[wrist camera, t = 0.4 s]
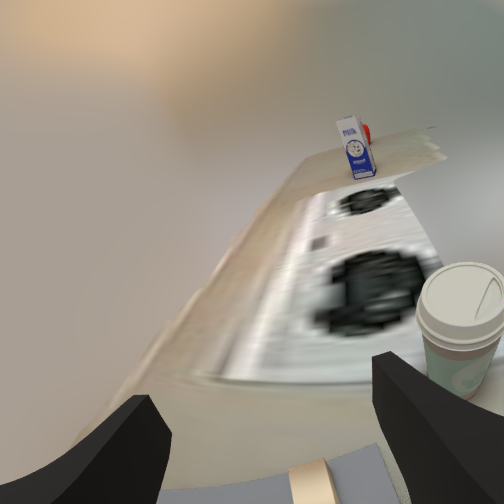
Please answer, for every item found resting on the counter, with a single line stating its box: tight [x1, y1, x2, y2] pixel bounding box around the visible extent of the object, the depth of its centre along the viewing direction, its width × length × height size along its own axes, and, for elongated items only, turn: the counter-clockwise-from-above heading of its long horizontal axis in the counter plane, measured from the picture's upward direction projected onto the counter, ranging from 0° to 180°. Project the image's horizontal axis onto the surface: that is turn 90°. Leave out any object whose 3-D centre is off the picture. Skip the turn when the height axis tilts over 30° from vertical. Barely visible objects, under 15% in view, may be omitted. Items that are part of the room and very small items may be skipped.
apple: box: [363, 124, 370, 144], centre depth 127 cm, size 9×9×11 cm
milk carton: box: [335, 116, 376, 180], centre depth 85 cm, size 7×7×20 cm
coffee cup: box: [416, 262, 504, 400], centre depth 19 cm, size 8×9×12 cm
